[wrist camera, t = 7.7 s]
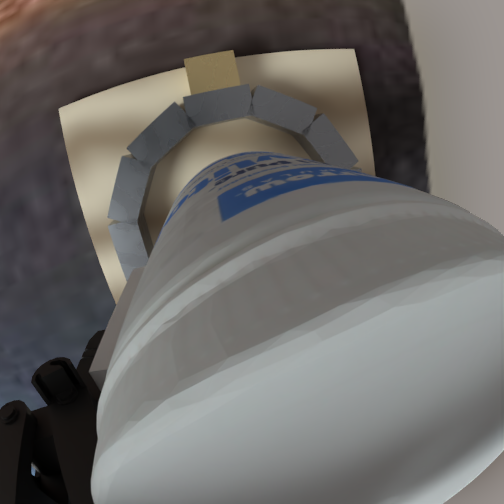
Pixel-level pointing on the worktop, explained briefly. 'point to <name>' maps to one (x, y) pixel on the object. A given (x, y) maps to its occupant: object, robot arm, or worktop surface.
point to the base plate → (201, 133)
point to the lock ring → (201, 115)
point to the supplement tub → (306, 345)
